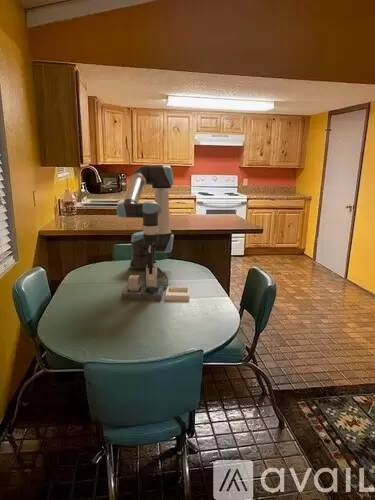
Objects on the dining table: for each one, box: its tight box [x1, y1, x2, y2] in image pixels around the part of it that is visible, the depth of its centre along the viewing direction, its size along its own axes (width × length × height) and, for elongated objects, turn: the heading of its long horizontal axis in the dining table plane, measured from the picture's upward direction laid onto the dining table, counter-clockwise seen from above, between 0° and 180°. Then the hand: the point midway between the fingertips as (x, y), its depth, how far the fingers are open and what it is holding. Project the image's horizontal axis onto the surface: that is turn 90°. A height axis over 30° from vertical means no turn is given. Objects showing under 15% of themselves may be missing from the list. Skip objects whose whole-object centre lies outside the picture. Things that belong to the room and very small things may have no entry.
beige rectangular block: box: [128, 274, 141, 292], centre depth 175 cm, size 5×5×10 cm
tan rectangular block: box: [145, 264, 158, 286], centre depth 174 cm, size 5×5×10 cm
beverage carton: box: [156, 266, 169, 289], centre depth 194 cm, size 8×19×7 cm, turn 21°
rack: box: [121, 284, 165, 301], centre depth 176 cm, size 12×20×3 cm, turn 89°
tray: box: [164, 286, 191, 301], centre depth 176 cm, size 12×12×3 cm
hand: (151, 277), depth 174 cm, fingers closed on tan rectangular block, 5 cm apart
